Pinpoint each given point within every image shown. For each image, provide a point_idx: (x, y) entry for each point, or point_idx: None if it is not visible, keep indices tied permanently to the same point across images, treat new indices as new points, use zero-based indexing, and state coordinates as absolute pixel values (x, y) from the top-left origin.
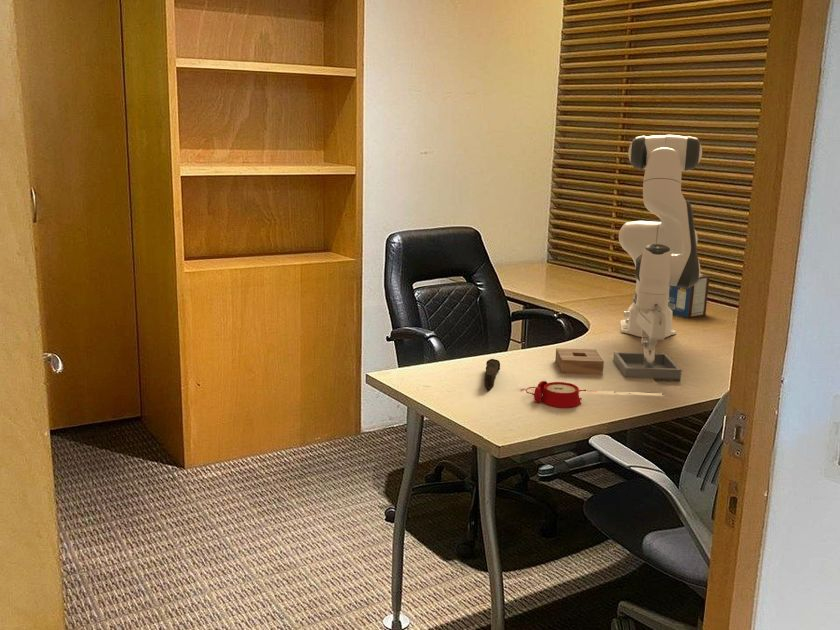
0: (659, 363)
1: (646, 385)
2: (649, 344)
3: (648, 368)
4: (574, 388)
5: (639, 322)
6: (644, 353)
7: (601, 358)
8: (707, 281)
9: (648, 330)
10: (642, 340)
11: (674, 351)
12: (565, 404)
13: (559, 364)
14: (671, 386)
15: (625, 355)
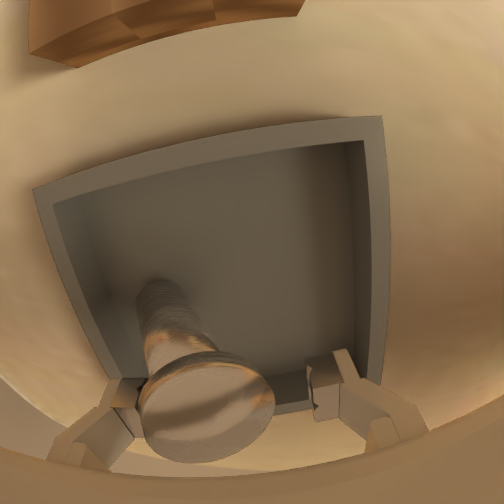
0: (343, 347)
1: (41, 270)
2: (93, 409)
3: (80, 310)
4: None
5: (453, 463)
6: (163, 333)
7: (78, 24)
8: None
9: (10, 492)
10: (170, 386)
11: (485, 367)
12: None
13: None
14: (77, 354)
15: (363, 192)
